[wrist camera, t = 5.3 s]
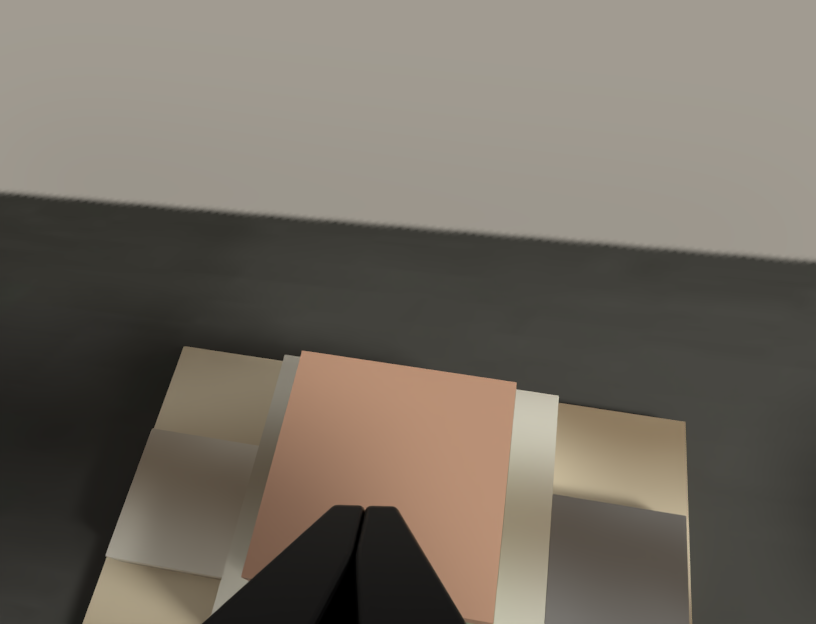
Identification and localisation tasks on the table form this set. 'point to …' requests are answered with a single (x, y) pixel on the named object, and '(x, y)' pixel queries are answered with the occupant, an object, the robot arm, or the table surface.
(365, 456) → the block
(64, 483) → the table surface
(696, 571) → the table surface
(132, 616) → the card holder
